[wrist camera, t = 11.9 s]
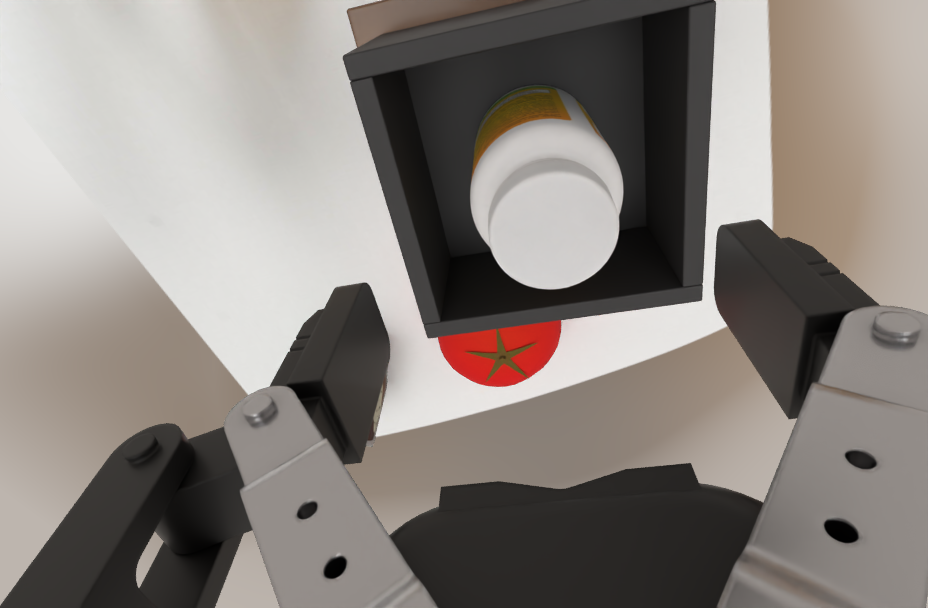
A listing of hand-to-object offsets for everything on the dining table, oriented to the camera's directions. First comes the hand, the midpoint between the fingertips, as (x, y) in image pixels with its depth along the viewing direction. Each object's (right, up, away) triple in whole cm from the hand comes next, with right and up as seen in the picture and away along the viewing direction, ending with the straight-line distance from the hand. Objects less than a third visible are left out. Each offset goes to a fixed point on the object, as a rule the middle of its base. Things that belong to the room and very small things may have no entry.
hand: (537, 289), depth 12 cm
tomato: (+3, -1, +51) cm, 51 cm away
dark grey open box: (+2, +7, +12) cm, 15 cm away
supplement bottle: (+2, +7, +12) cm, 14 cm away
